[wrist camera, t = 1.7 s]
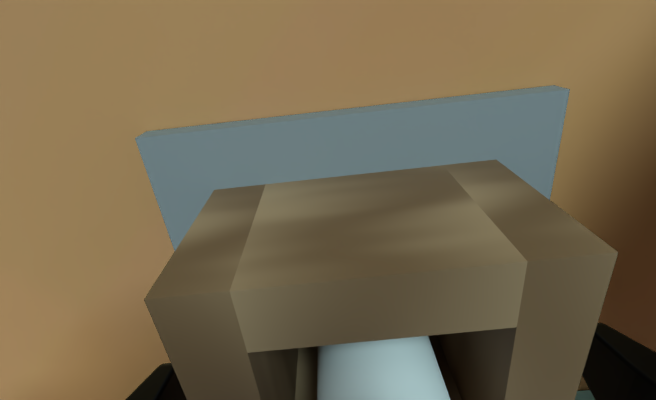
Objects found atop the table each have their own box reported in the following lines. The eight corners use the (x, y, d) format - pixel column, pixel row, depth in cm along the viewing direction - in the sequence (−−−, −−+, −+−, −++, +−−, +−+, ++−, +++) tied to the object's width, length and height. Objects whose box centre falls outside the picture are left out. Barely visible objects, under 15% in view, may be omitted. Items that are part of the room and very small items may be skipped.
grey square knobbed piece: (553, 85, 9) (882, 170, 4) (507, 370, 13) (626, 588, 8) (146, 131, 9) (-79, 269, 4) (234, 395, 13) (183, 622, 8)
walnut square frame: (495, 159, 9) (617, 252, 5) (471, 395, 13) (532, 542, 9) (214, 190, 9) (143, 300, 5) (274, 413, 13) (257, 564, 9)
